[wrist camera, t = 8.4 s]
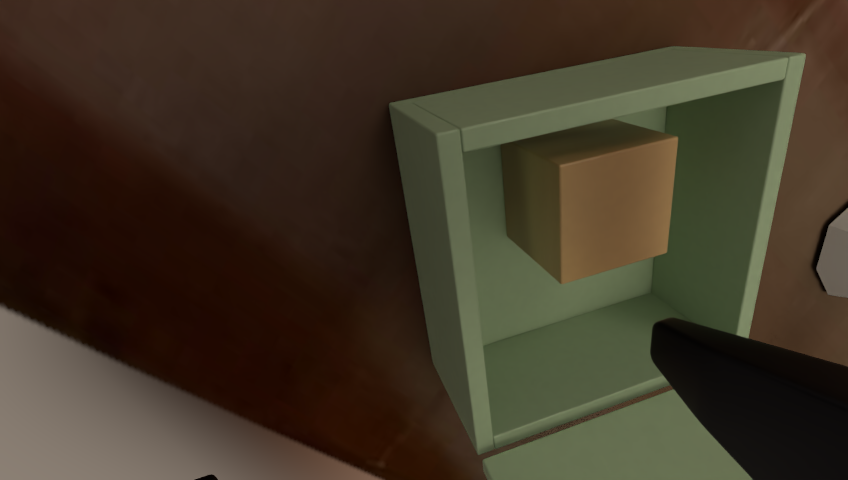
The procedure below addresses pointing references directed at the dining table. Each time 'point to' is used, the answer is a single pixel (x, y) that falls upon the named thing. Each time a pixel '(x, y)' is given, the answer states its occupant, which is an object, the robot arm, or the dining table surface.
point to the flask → (835, 257)
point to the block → (590, 196)
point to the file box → (604, 292)
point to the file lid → (623, 448)
